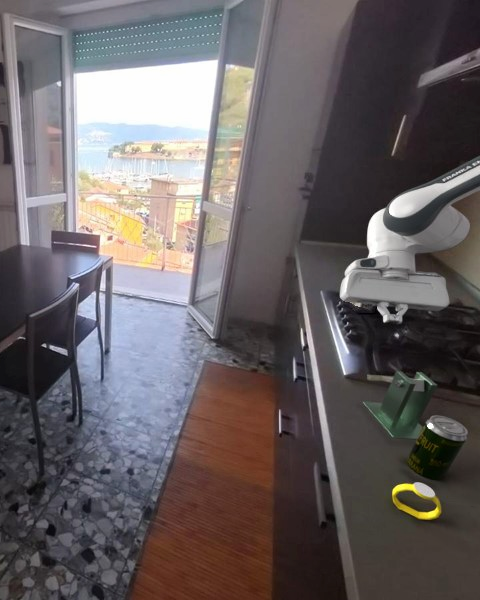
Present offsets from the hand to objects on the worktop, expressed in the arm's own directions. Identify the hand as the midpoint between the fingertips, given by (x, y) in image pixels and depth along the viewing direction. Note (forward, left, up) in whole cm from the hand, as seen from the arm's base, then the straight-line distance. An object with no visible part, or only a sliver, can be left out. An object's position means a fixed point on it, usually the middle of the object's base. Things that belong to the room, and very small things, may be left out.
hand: (392, 322), depth 83 cm
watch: (+12, +34, -19) cm, 41 cm away
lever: (+1, +9, -11) cm, 15 cm away
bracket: (+1, +12, -19) cm, 23 cm away
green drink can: (+4, +25, -19) cm, 32 cm away
